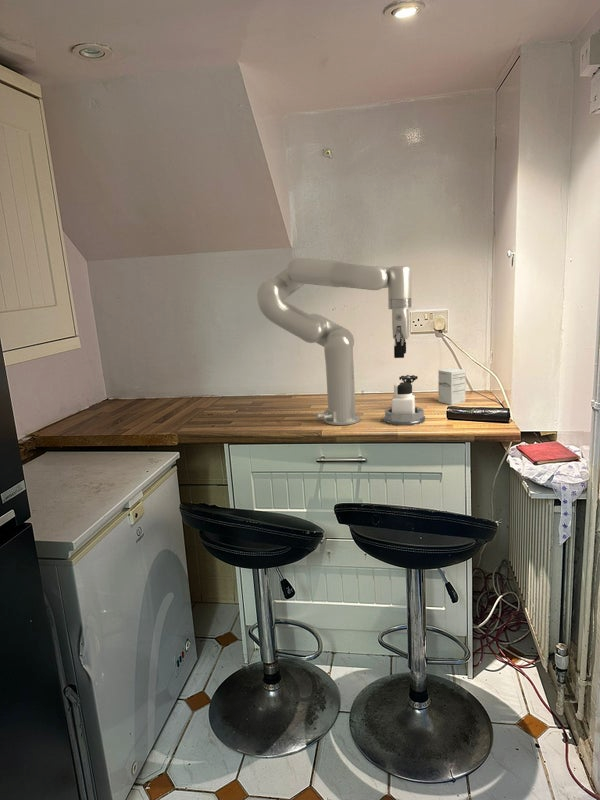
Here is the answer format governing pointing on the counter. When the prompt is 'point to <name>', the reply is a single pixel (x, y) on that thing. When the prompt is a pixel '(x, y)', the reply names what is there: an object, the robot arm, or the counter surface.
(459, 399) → the supplement box
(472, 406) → the counter surface
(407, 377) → the valve
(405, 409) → the medicine bottle
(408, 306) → the robot arm
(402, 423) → the ring collar
